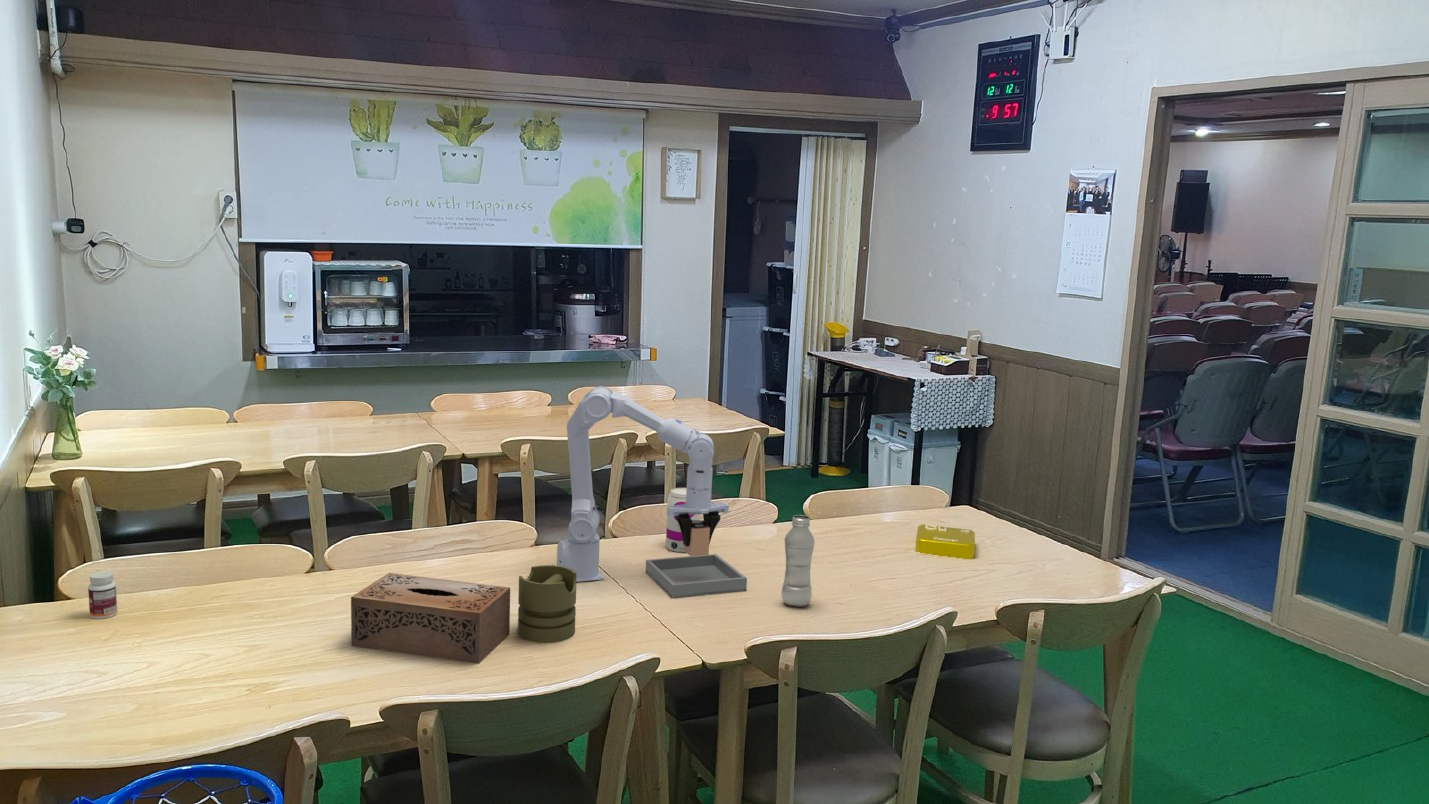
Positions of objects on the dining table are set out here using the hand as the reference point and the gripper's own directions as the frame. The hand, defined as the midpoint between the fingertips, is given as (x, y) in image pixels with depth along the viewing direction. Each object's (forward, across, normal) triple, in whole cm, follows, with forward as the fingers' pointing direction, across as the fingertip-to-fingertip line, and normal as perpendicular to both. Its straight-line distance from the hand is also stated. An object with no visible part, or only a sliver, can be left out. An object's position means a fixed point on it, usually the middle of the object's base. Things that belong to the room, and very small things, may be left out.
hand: (696, 544), depth 242 cm
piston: (+9, -40, -20) cm, 46 cm away
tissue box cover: (+9, -62, -18) cm, 65 cm away
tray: (+9, 0, 0) cm, 9 cm away
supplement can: (+9, +6, +24) cm, 26 cm away
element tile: (+10, +74, +7) cm, 75 cm away
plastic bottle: (+9, +16, -20) cm, 27 cm away
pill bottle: (+9, -121, +12) cm, 122 cm away
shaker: (+2, 0, 0) cm, 2 cm away
